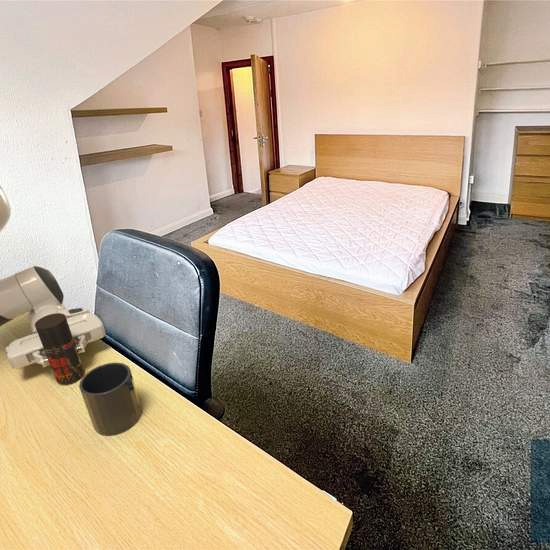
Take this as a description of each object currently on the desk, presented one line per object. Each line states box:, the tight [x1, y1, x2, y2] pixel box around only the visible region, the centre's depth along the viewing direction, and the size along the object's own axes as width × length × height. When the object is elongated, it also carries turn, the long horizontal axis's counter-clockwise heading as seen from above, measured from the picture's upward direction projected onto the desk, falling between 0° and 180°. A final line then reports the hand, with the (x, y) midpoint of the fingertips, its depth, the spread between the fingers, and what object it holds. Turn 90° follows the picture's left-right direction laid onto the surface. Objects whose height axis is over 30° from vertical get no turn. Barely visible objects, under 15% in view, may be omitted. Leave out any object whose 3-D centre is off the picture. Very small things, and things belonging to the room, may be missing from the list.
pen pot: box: [78, 362, 142, 437], centre depth 78 cm, size 9×9×10 cm
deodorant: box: [35, 313, 86, 386], centre depth 89 cm, size 6×6×15 cm
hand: (64, 356), depth 89 cm, fingers closed on deodorant, 6 cm apart
